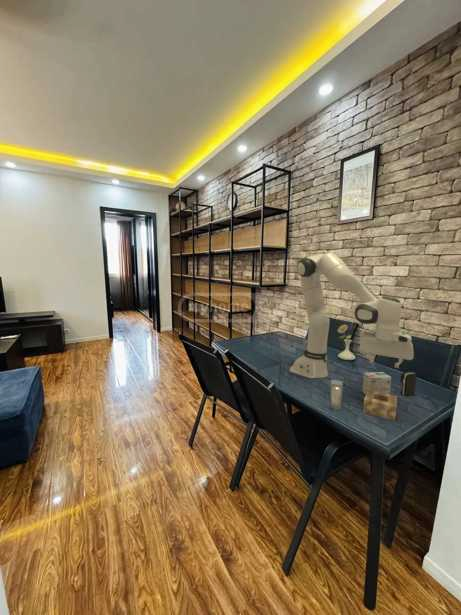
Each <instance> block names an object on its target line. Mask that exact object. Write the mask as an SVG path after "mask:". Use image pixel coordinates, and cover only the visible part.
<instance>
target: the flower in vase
mask: <svg viewBox="0 0 461 615" xmlns="http://www.w3.org/2000/svg"><path fill="white" fill-rule="evenodd" d="M348 327H349V326H348V325H347V324H342V325H341V326H339V327H338V328H337V330H336V331H337V333H339V334H344V335H341V336H339V339H343V341H344V343H345V349H344V350H343V351H341V352H339V353H338V355H337V357H338V358H340V359H341V360H343V361H344V360H345V361H353V360H356V356H355V355H354V354H353V353H352V352H351V350H350V345H351V343H352V339H351V337H352V334H349V335H347V336H346V333H345V332H346V331H347V330H348ZM344 338H346V339H344Z"/></svg>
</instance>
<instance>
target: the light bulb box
mask: <svg viewBox="0 0 461 615" xmlns="http://www.w3.org/2000/svg"><path fill="white" fill-rule="evenodd" d="M391 383H392V376H390V375H389V374H387V373H385V372H384V371H379V372H363V380H362V393H363V394H365V395H366V392H367V389H369V390H373V391H378V392H382V393H386V394H391Z"/></svg>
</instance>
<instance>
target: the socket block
mask: <svg viewBox="0 0 461 615" xmlns="http://www.w3.org/2000/svg"><path fill="white" fill-rule="evenodd" d="M397 403H398V395H395V394H391V393H390V394H386V393H382V392H378V391H373V390H369V389H367V392H366V394H365V396H364V399H363V408H362V409H363V413H366V414H369V415H372V416H376V417H379V418H384V419H386V420H387V419H388V420H391V421H396V417H397V416H396V415H397V405H398V404H397Z"/></svg>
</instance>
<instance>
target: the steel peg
mask: <svg viewBox="0 0 461 615" xmlns="http://www.w3.org/2000/svg"><path fill="white" fill-rule="evenodd" d="M341 391H342V392H343V389H342V387H341V386H338V385H333V386H332V396H331V399H330V408H331V409H332V410H335V411H339V410H340V409H341V404H342V403H341V402H342V401H341Z"/></svg>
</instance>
